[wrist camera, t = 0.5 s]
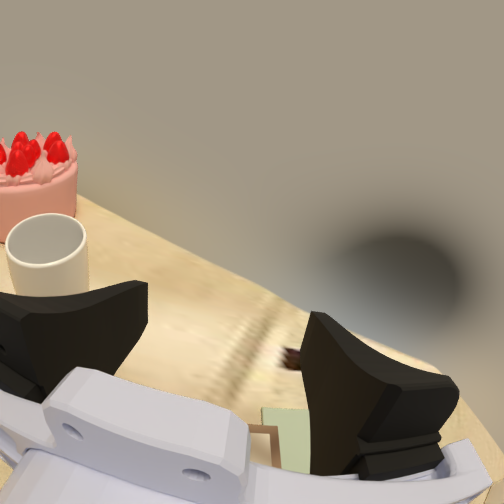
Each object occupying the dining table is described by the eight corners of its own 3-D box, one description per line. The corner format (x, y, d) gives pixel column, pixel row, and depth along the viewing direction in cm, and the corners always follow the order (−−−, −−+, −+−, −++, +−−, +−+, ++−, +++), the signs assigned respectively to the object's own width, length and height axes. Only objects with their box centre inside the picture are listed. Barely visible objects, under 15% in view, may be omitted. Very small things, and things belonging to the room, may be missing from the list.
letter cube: (262, 485, 18) (285, 477, 16) (206, 483, 17) (219, 476, 15) (259, 441, 23) (280, 425, 20) (208, 437, 22) (220, 420, 19)
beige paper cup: (102, 335, 26) (97, 216, 19) (97, 388, 21) (74, 274, 14) (49, 327, 24) (26, 208, 16) (37, 377, 19) (-12, 259, 11)
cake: (95, 210, 46) (103, 137, 38) (19, 264, 28) (8, 169, 21) (37, 184, 46) (40, 122, 38) (-31, 221, 28) (-38, 147, 21)
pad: (336, 470, 21) (338, 469, 21) (265, 476, 19) (266, 475, 19) (325, 410, 28) (327, 409, 27) (261, 408, 26) (262, 407, 26)
